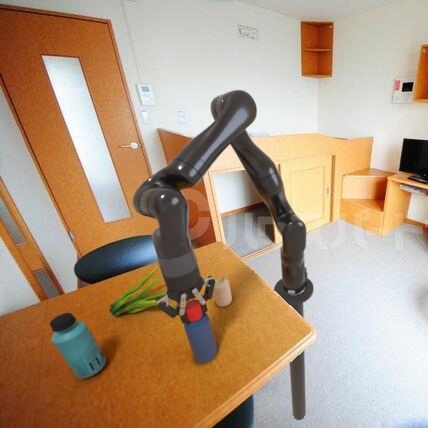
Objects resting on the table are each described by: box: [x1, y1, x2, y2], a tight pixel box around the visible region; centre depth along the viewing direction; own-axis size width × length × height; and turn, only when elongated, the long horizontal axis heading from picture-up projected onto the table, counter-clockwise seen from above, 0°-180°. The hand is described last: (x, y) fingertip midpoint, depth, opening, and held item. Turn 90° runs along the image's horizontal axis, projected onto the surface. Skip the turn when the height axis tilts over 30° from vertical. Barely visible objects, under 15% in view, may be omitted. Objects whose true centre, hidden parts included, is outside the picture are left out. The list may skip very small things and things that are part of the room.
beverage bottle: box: [49, 312, 107, 379], centre depth 61 cm, size 6×7×20 cm
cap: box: [185, 298, 203, 321], centre depth 63 cm, size 4×4×4 cm
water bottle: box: [183, 313, 218, 364], centre depth 66 cm, size 6×6×18 cm
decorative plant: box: [108, 263, 177, 317], centre depth 86 cm, size 18×30×15 cm, turn 94°
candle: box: [213, 277, 233, 308], centre depth 87 cm, size 6×6×10 cm
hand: (195, 317), depth 64 cm, fingers closed on cap, 3 cm apart
